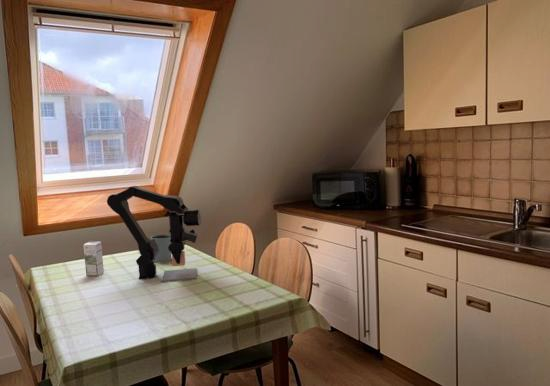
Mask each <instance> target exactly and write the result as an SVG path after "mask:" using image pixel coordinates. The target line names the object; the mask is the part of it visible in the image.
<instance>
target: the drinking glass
mask: <svg viewBox="0 0 550 386" xmlns="http://www.w3.org/2000/svg"><path fill="white" fill-rule="evenodd" d="M149 239H150V240H152V239H154V240H155V242H156V244H157V245H158V246H159V247H158V248H159V253H158V255H157V256H156V257H155V260H153V261H154V263H157V262H162V263H167V262H166V261H168V262H170V261H172V253H171V251H169V250H168V246H169V244H170V243H171V242H170V234H168V233H167V234H166V233H165V234H155V235H152V236H150V238H149Z"/></svg>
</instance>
